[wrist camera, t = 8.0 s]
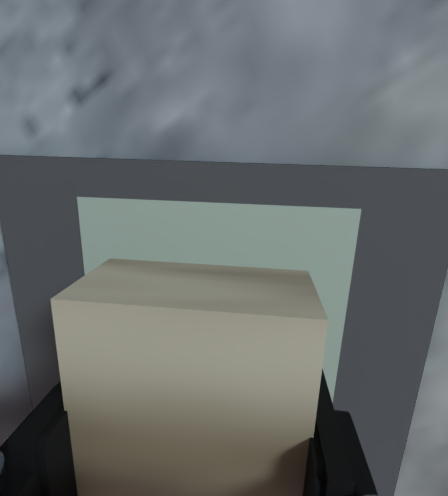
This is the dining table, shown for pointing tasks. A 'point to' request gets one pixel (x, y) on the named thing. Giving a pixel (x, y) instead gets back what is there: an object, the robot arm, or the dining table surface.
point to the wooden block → (190, 378)
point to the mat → (249, 259)
